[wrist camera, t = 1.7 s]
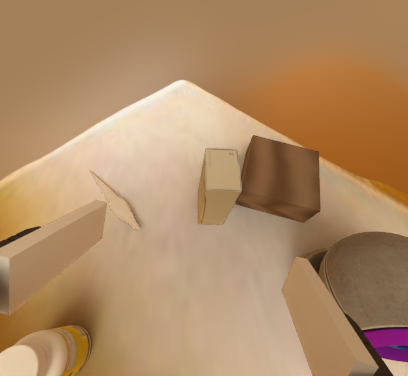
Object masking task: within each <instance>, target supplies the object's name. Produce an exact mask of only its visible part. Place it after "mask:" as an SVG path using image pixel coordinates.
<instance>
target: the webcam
mask: <svg viewBox="0 0 408 376" xmlns="http://www.w3.org/2000/svg"><path fill="white" fill-rule="evenodd" d="M304 258H305V259H308V261H309V262H310V264H311V265H312V267H313V268H314V270H315V271H316V273H317V274H318V276H319V277H320V279H321V280H322V282H323V283H324V285H325V286H326V288H327V289H328V291H329V293H330V294H331V296H332V297H333V299H334V300H335V302H336V303H337V305H338V306H339V308H340V309H341V311H342V312H343V313H344V314H348V315H349V316H350V317H351V318H352V319H353V320H354V321H355V322H356V323H357V324H358V325H359V327H360V328H361V330H362V331H363V333H364V334H365V337H367V338H368V340H369V341H370V343H371V345H372V346H373V347H374V348H375V350H376V351H377V353H378V354H379V356H380V357H381V358H385V359H390V360H395V361H403V362H408V237H405V236H401V235H397V234H393V233H386V232H364V233H358V234H354V235H351V236H348V237H346V238H344V239H342V240H340V241H339V242H337V243H336V244H334V245H333V246H332V247H331V248H330V249H321V250H317V251H314V252H312V253H309V254H308V255H306V256H305V257H304Z"/></svg>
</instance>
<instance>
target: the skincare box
mask: <svg viewBox="0 0 408 376" xmlns="http://www.w3.org/2000/svg"><path fill="white" fill-rule="evenodd" d="M241 191H242V183H241V172H240V164H239V156H238V150H233V149H216V148H206V149H205V156H204V162H203V168H202V174H201V179H200V185H199V190H198V224H215V225H222V224H223V223H224V221H225V219H226V218H227V216H228V214H229V212H230V211H231V209H232V207H233V205H234V203H235V202H236V200H237V198H238V196H239V195H240V193H241Z"/></svg>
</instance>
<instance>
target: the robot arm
mask: <svg viewBox="0 0 408 376" xmlns="http://www.w3.org/2000/svg"><path fill="white" fill-rule="evenodd" d="M106 206H107V203H105V202H101V201H98V200H95V201H93V202H91V203H89V204H87V205H85V206H83V207H81V208H79V209H77V210H75V211H73V212H71V213H69V214H67V215H65V216H63V217H61V218H59V219H57V220H55V221H53V222H51V223H49V224H47V225H45V226H43V227H39V226H38V227H34V228H30V229H26V230H24V231H22V232H20V233H18V234H16V235H14V236H11V237H9V238H7V240H3V241H1V242H0V313H2V314H6V315H11V314H12V313H13V312H14V311H15V310H17V309H18V308H19V307H20V306H21V305H23V304H24V303H25V302H26V301H27V300H29V299H30V298H31V297H32V296H33V295H35V294H36V293H37V292H38V291H39V290H41V289H42V288H43V287H44V286H45V285H47V284H48V283H49V282H50V281H51V280H53V279H54V278H55V277H56V276H58V275H59V274H60V273H61V272H62V271H64V270H65V269H66V268H67V267H68V266H70V265H71V264H72V263H73V262H74V261H76V260H77V259H78V258H79V257H80V256H82V255H83V254H84V253H85V252H86V251H88V250H89V249H90V248H91V247H92V246H94V245H95V244H96V243H97V242H98V241H100V240H101V239H102V235H103V228H104V221H105V213H106ZM282 292H283V295H284V297H285V300H286V303H287V306H288V308H289V311H290V314H291V317H292V319H293V322H294V325H295V328H296V331H297V333H298V336H299V339H300V342H301V344H302V347H303V350H304V353H305V356H306V358H307V361H308V364H309V367H310V369H311V372H312V375H313V376H393V374H392V373H391V371H390V370H389V369H388V367H387V366H386V364H385V363H384V361H383V360H382V359H381V357H380V356H379V354H378V353H377V351H376V350H375V348H374V347H373V346H372V345H371V343H370V341H369V340H368V338H367V337H365V334H364V333H363V331H362V330H361V328H360V327H359V325H358V324H357V323H356V322H355V321H354V320H353V319H352V318H351V317H350V316H349V315H348V314H344V313H343V312H342V311H341V309H340V308H339V306H338V305H337V303H336V302H335V300H334V299H333V297H332V296H331V294H330V293H329V291H328V289H327V288H326V286H325V285H324V283H323V282H322V280H321V279H320V277H319V276H318V274H317V273H316V271H315V270H314V268H313V267H312V265H311V264H310V262H309V261H308V259H305V258H301V257H298V256H296V258H295V260H294V262H293V265H292V267H291V269H290V272H289V274H288V277H287V279H286V281H285V284H284V286H283V288H282Z"/></svg>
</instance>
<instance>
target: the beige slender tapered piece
mask: <svg viewBox="0 0 408 376" xmlns="http://www.w3.org/2000/svg"><path fill="white" fill-rule="evenodd" d="M89 172H90V173H91V175H92V176H93V178H94V180H95V181H96V183H97V185H98V186H99V188H100V190H101V192H102V193H103V195H104V196H105V198H106V199H107V201H108V202H109V203H110V210H111V211H112V212H113V213H114V214H115V215H116V216H118V217H119V218H121V219H122V221H123V222H125V223H128V224H130V226H131V227H132V228H133V229H135V230H139V228H140V226H139V224H138V223H137V222H136V220H135V218H134V213H133V212H132V211H131V209H130V207H129V204H128V203H127V202H126V200H125V199H123V198H121V197H118V196H117V195H116V194H115V193H114V192H113V191H112V190H111V189H110V188H109V187H108V186H107V185H106V184H104V183H103V182H102V181H101V180H100V179H99V178H98V177H96V176H95V175H94V174H93V173H92V172H91V171H89Z"/></svg>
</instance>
